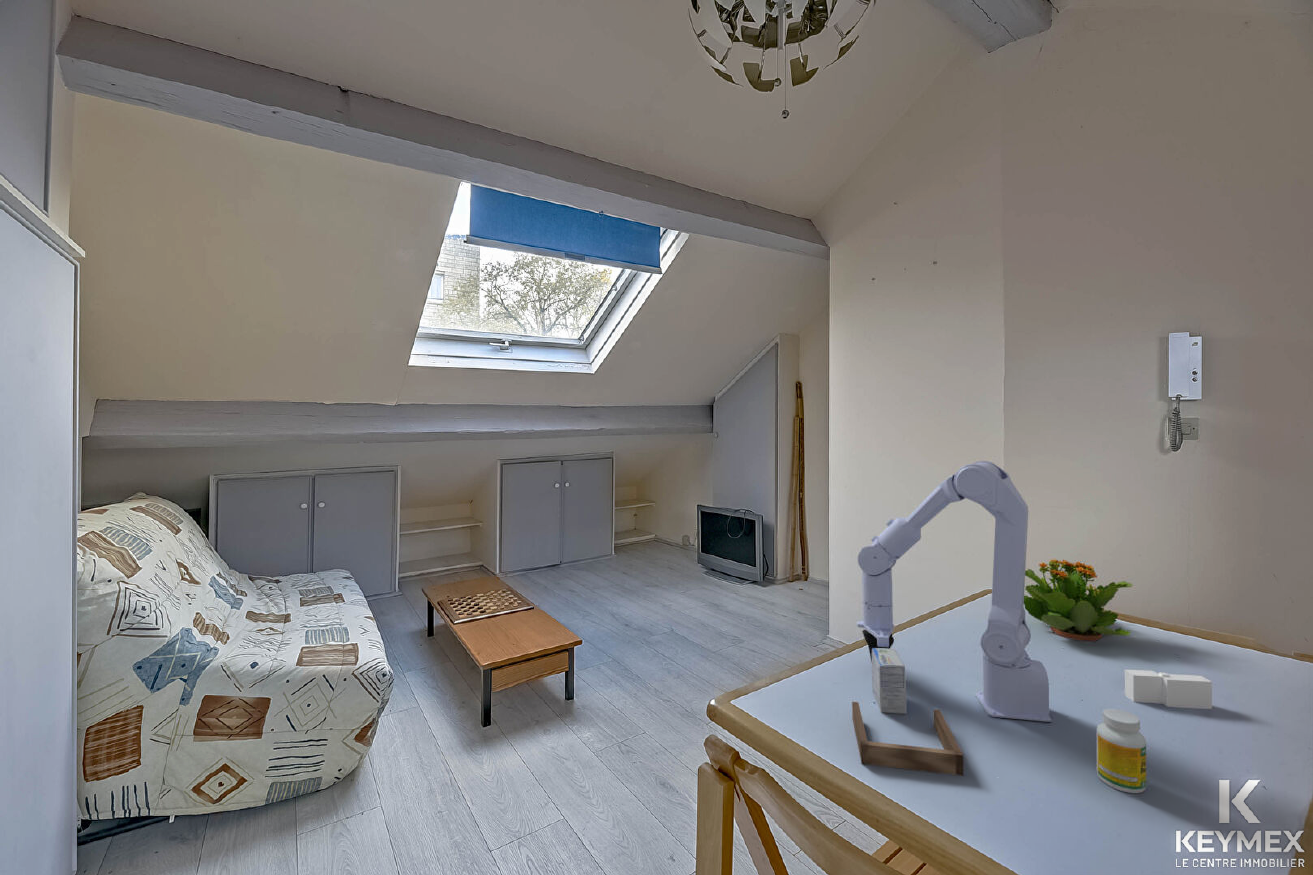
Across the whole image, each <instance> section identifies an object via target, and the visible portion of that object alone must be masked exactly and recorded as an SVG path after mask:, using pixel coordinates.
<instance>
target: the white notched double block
mask: <svg viewBox="0 0 1313 875" xmlns="http://www.w3.org/2000/svg"><path fill="white" fill-rule="evenodd" d="M1124 696H1125V697H1126V698H1128V699H1129V700H1130V701H1132V703H1133V702H1134V703H1149V704H1163V705H1164V706H1166V707H1167V708H1169V707H1170V708H1180V709H1181V708H1184V709H1199V710H1201V709H1202V710H1203V709H1204V710H1212V709H1213V682H1212V681H1211V680H1210V679H1207V678H1206V677H1204V676H1202V675H1191V674H1190V675H1189V674H1173V673H1172V674H1170V673H1167V672H1156V671H1155V670H1143V669H1141V670H1140V669H1124Z"/></svg>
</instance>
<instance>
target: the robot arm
mask: <svg viewBox="0 0 1313 875" xmlns="http://www.w3.org/2000/svg"><path fill="white" fill-rule="evenodd" d="M965 499H967V500H969V501H972V502H974V503H976V504H978V505H980V506H982V507H983V508H984V509H985V510H986V511H987V512H989V514H990V515H991V516H993V517H994V518H995V522H994V523H995V524H994V525H995V526H994V541H993V542H994V546H993V566H992V567H993V568H992V586H991V587H992V589H991V605H990V610H989V614H988V619H987V627H986V630H985V631H984V632H983V634H982V635H981V638H980V647H981V650H982V692H975V697H976V698H977V700H978V701H979V703H980V704H981V706H982V707H983V709H984V710H985V712H986V714H987V715H988V716H989V717H992V718H995V717H996V718H1003V719H1005V718H1006V719H1016V720H1025V721H1037V722H1048V723H1050V722H1052V719H1051V717H1050V684H1049V677H1048V672H1047V669H1046V667H1045V666H1044V664H1043V663H1042V661H1040V660H1037V659H1031V657H1029V655H1028V654H1029V653H1028V651H1026V647H1027V646H1028V645H1029V643H1030V641H1031V639H1032V638H1031V636H1032V635H1031V629H1030V628H1029V626H1028V624H1027V622H1026V609H1025V605H1024V595H1025V588H1026V586H1025V582H1026V581H1025V580H1026V576H1025V570H1026V566H1027V565H1026V564H1027V561H1026V560H1027V545H1028V544H1027V542H1028V525H1029V524H1028V523H1029V507H1028V505H1027V503H1026V501H1025V499H1024V497H1023V496H1022V495H1021V494H1020V492H1019V490H1018V489H1017V488H1016V486H1015V484H1014V483H1013V481H1012V479H1011V477H1010V475H1009V473H1008V472H1006V471H1005V470H1003V468H1001V467H1000V466H998V465H997V464H996V463H993V462H992V461H988V460H979V461H975V462H974V463H969V464H965V465H963V466H961V467H960V468H959V469H958V470H957V471H956V473H954V474H952V475H950V476H949V477H947V478H946V479H945V480H943V481H941V483H939V485H938V486H936V487H935V488H934V489H933V490H932V491H931V493H929V495H928V496H926V498H925V499H923V501H922V502H921V503H920V504H919V505H918V506H917V507H916V508H915V509H914V510H913V511H912V512H911V513H910V514H909V516H907V517H902V516H899V517H897V518H895V519H894V518H892V519H890V520H888V521H887V523H886V525H887V527H886V528H885V529H884V530H883V531H882V532H880V533H879V535H878V536H876V535H875V536H873V537H872V538H871V540H870V541H871V544H869V545H866V546H863V547H862V548H861V550H860V552H858V555H857V563H858V567H859V568H860V569H861V570H862V571H861V572H862V576H861V577H862V579H861V581H862V583H861V585H862V586H861V588H862V620H856V626H857V627H858V628H862V629H863V630H862V635H863V638H864V640H865V642H866V644H867V646H868V651H869V656H870V661H871V663H872V648H887V649H892V646H893V645H894V642H895V638H894V636H893V632H894V630H895V625H894V615H893V614H894V613H893V612H894V611H893V610H894V607H893V606H894V605H893V570H892V568H893V567H895V565H896V564H897V560H899V559H901V557H903V556H904V555H905V554H906V553H907V552H908V551H909V550H910V549H912V548H913V546H915V545H916V544H917V543H918V542H919V541H920V540H921V539H922V534H921V533H922V528H923V527H925V525H927V524H928V523H929V522H931V521H932V520H933V519H934V518H935V517H936V516H937V515H938V514H940V513H941V512H942V511H943V510H944V509H946V507H948V506H949V505H950V504H952V503H955V502H956V503H957V502H960V501H961V502H962V501H963V500H965Z"/></svg>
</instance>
